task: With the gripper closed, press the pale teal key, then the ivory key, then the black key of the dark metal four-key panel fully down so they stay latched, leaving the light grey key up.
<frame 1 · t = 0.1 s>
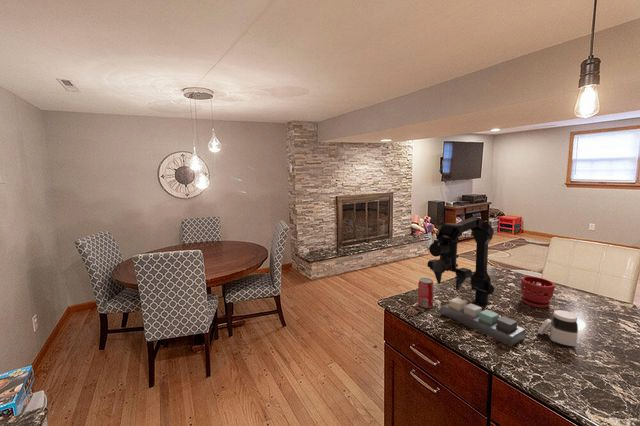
hand: (447, 286, 131), 15 cm above the kitchen island, fingers open, 9 cm apart
key ivory: (457, 305, 134), point 5 cm above the kitchen island, slide at 0.0 cm
key panel: (479, 325, 126), on the kitchen island
key black: (506, 325, 117), point 5 cm above the kitchen island, slide at 0.0 cm
plant pot: (535, 304, 146), on the kitchen island
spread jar: (555, 340, 115), on the kitchen island
key teal: (488, 318, 123), point 5 cm above the kitchen island, slide at 0.0 cm
key grey: (472, 311, 128), point 5 cm above the kitchen island, slide at 0.0 cm
soda can: (425, 305, 145), on the kitchen island
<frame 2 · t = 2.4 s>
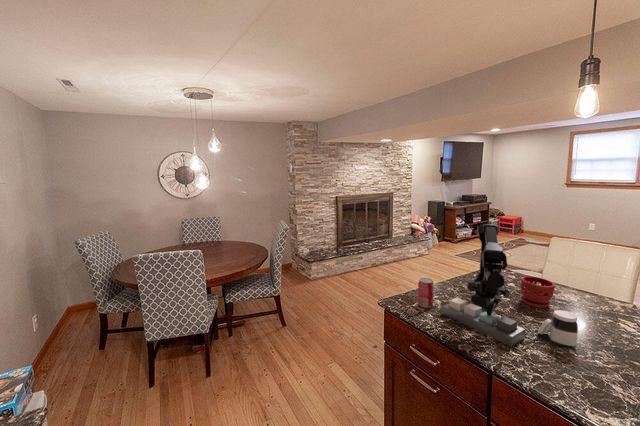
hand: (489, 315, 122), 6 cm above the kitchen island, fingers closed, pressing on key teal
key teal: (488, 320, 123), point 4 cm above the kitchen island, slide at 0.9 cm, touching gripper
everything else where it was.
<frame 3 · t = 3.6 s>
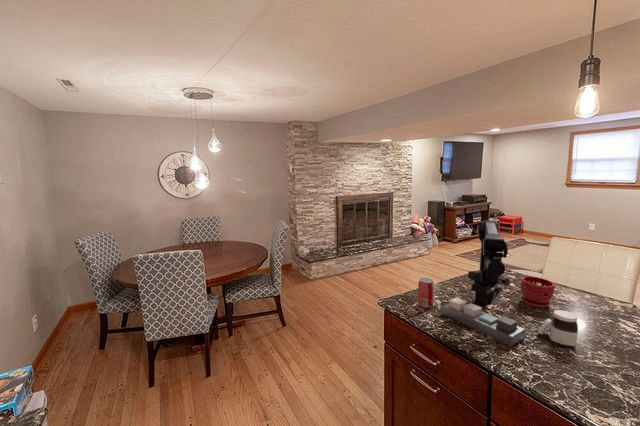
hand: (489, 304, 122), 11 cm above the kitchen island, fingers closed
key teal: (488, 322, 123), point 3 cm above the kitchen island, slide at 1.9 cm
everything else where it was.
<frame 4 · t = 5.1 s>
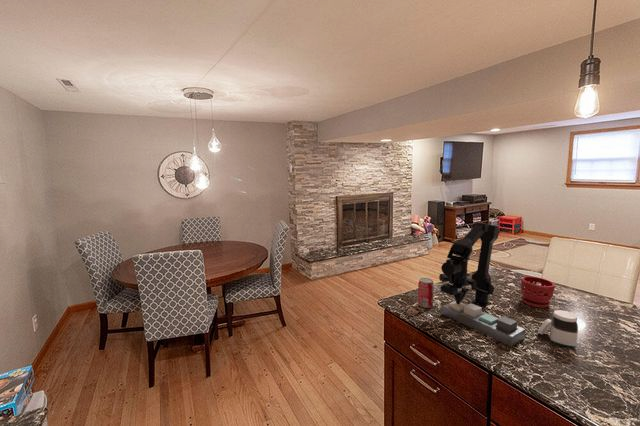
hand: (458, 303, 134), 6 cm above the kitchen island, fingers closed, pressing on key ivory
key ivory: (457, 308, 135), point 3 cm above the kitchen island, slide at 1.4 cm, touching gripper
everything else where it was.
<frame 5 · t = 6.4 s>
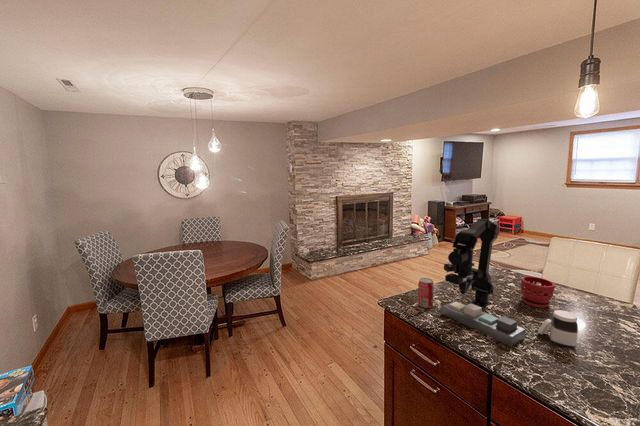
hand: (463, 294, 132), 11 cm above the kitchen island, fingers closed
key ivory: (457, 309, 135), point 3 cm above the kitchen island, slide at 1.9 cm
everything else where it was.
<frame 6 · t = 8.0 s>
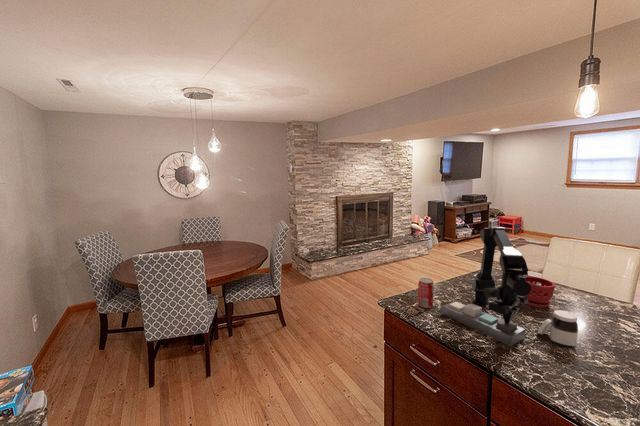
hand: (506, 323, 117), 6 cm above the kitchen island, fingers closed, pressing on key black
key black: (506, 328, 117), point 4 cm above the kitchen island, slide at 1.2 cm, touching gripper
everything else where it was.
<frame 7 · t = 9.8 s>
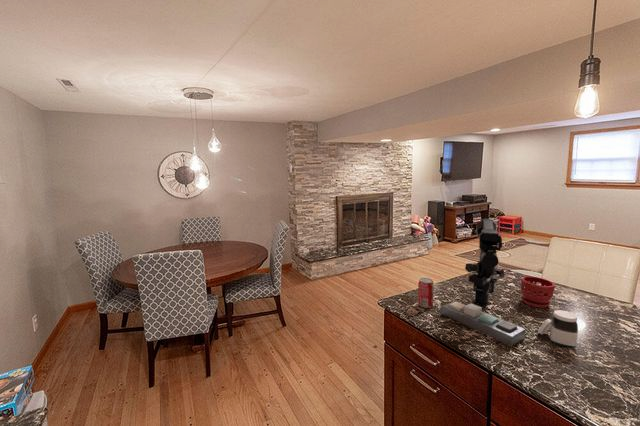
hand: (485, 294, 129), 12 cm above the kitchen island, fingers closed
key black: (506, 330, 117), point 3 cm above the kitchen island, slide at 1.9 cm
everything else where it was.
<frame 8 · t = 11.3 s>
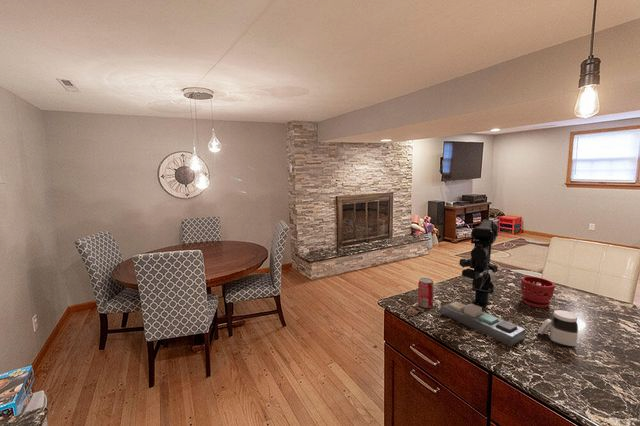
hand: (478, 288, 134), 13 cm above the kitchen island, fingers closed
nothing on the kitchen island moved.
at the end: key teal slide at 1.9 cm; key black slide at 1.9 cm; key grey slide at 0.0 cm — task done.
